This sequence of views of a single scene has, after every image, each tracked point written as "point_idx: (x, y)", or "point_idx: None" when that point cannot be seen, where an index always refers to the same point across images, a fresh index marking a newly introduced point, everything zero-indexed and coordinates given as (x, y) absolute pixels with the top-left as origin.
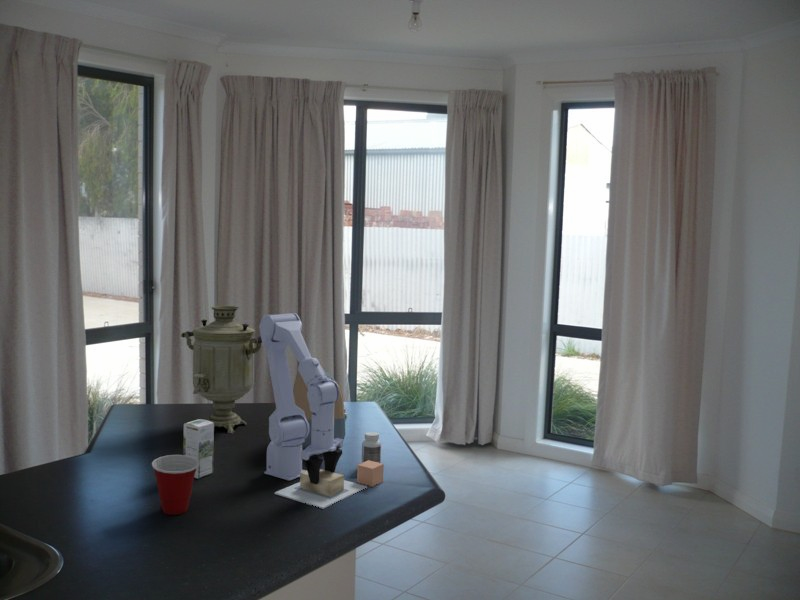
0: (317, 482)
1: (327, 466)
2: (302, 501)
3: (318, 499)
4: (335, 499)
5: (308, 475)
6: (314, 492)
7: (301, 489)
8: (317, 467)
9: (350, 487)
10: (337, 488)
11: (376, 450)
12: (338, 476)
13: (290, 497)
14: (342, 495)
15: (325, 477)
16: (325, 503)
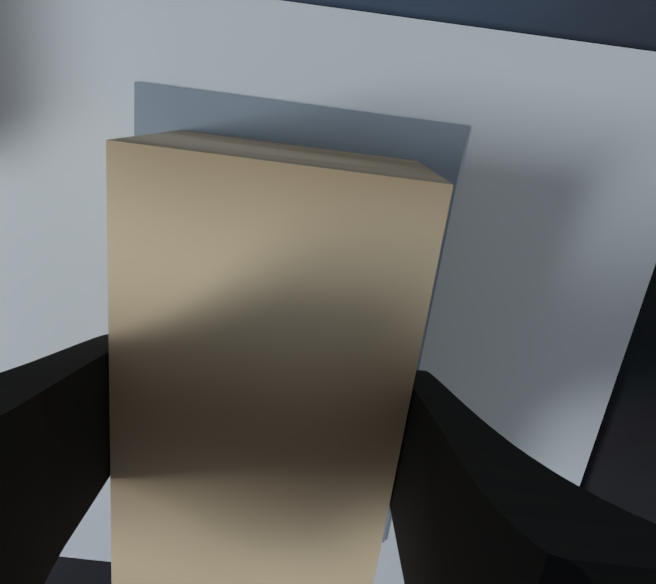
0: (418, 373)
1: (75, 481)
2: (628, 335)
3: (531, 229)
4: (454, 67)
5: (380, 537)
6: None
7: None
8: (579, 495)
9: (51, 116)
10: (286, 149)
11: None
12: (201, 191)
13: (585, 464)
14: (308, 62)
15: (345, 331)
16: (609, 101)
